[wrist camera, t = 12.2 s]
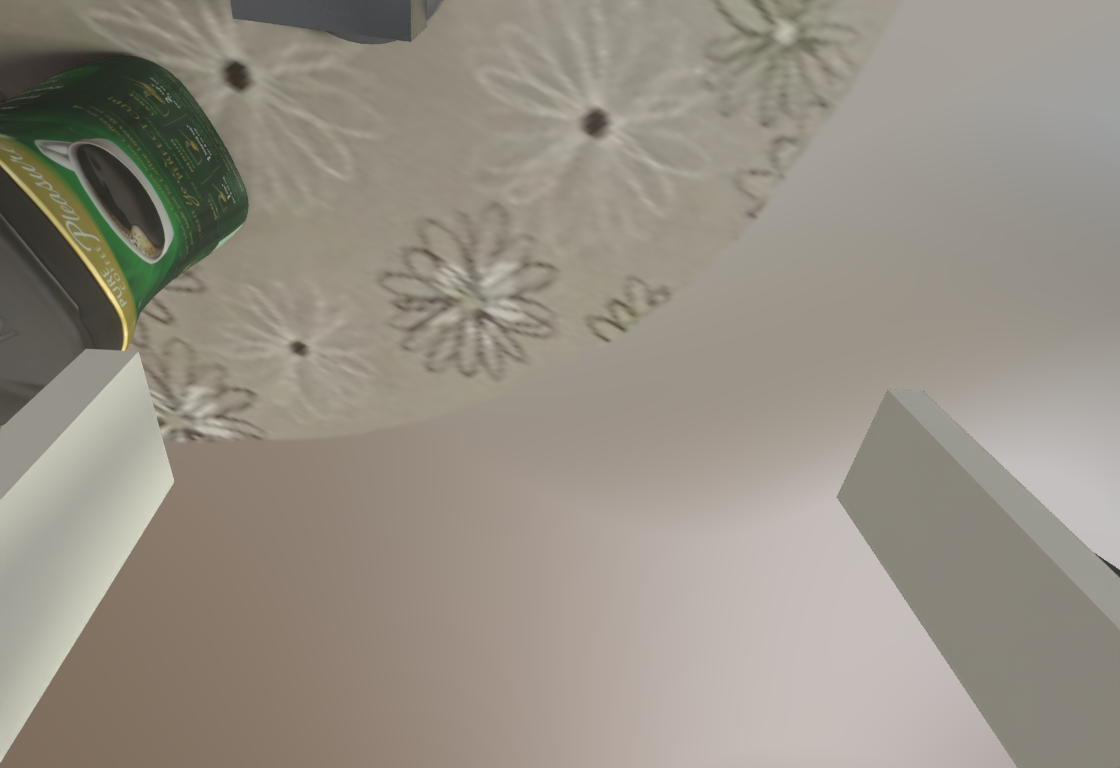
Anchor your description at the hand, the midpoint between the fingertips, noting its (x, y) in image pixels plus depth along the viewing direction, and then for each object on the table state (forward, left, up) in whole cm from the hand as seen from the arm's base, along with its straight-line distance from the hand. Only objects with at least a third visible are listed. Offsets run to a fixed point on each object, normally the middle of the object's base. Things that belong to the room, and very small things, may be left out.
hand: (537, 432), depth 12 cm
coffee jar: (-18, -3, -27) cm, 33 cm away
